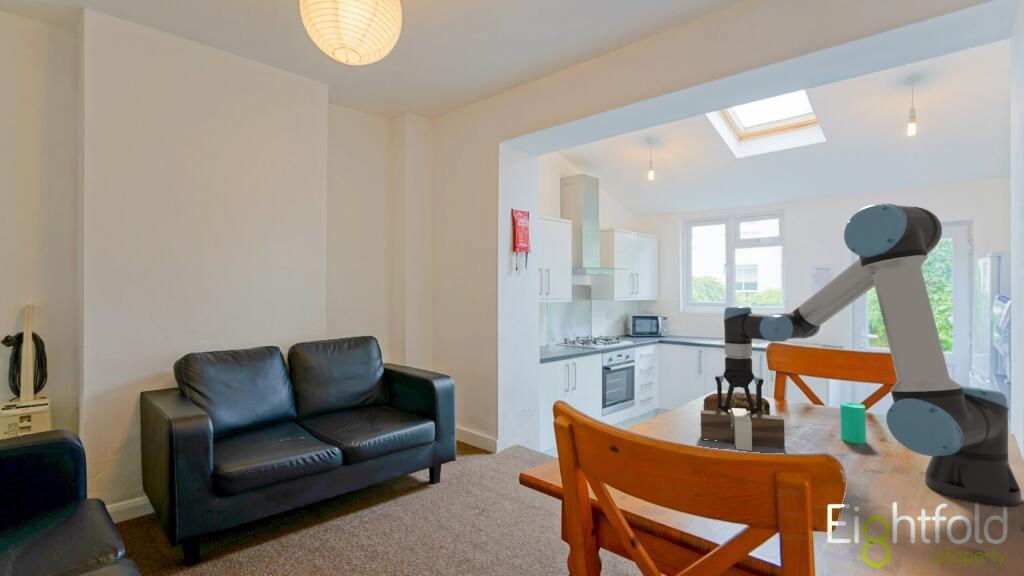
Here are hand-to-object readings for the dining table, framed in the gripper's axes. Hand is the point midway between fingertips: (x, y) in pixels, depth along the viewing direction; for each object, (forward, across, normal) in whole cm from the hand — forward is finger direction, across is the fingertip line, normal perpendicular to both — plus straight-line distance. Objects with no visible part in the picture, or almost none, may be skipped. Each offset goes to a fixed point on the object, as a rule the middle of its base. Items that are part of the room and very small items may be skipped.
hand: (739, 432), depth 144 cm
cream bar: (+1, 0, +5) cm, 5 cm away
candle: (+1, -31, -7) cm, 32 cm away
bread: (+2, 0, -18) cm, 18 cm away
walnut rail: (+1, 0, +5) cm, 5 cm away
